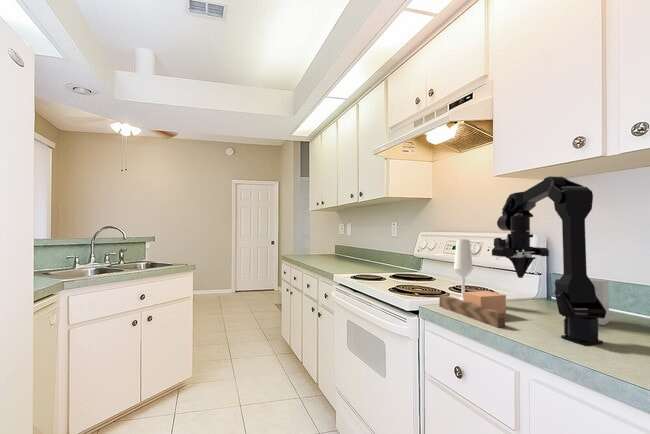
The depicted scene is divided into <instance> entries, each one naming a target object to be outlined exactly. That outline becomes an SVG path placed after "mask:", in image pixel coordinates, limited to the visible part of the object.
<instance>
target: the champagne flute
mask: <svg viewBox="0 0 650 434" xmlns="http://www.w3.org/2000/svg"><path fill="white" fill-rule="evenodd" d="M453 264H454V265H453V269H454V271H455V273H456V274H458V276H459V277H461V293H460V294H461V295H460V296H461V297H459V298H458V299H460V300H463V292H466V290H465V289H466V288H465V287H466V284H465V283H466V279H465V278H466V277H467V276H468V275H470V274H471V273H472V271H473V268H474V267H473V259H472V247H471V240H470V239H466V238H465V239H463V238H461V239H459V238H458V239H456V244H455V253H454V263H453Z"/></svg>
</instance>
